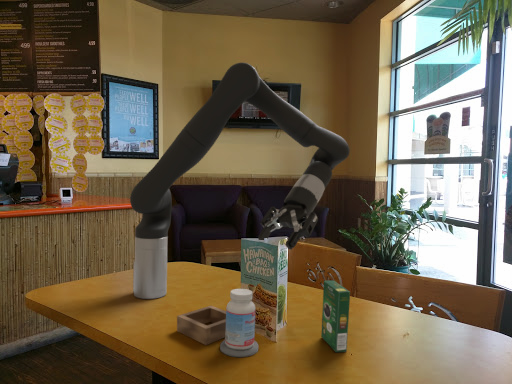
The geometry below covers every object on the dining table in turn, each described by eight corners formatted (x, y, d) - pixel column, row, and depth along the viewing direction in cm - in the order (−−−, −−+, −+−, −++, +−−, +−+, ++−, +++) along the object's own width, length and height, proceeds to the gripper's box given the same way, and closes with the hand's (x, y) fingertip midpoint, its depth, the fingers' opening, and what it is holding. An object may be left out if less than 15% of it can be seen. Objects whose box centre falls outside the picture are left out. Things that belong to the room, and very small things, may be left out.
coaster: (212, 347, 81) (212, 345, 81) (239, 336, 86) (239, 334, 86) (239, 361, 75) (239, 358, 75) (266, 348, 81) (266, 345, 81)
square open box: (176, 330, 89) (177, 315, 88) (210, 319, 96) (211, 305, 96) (205, 345, 82) (206, 328, 82) (239, 331, 89) (240, 316, 89)
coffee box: (348, 352, 80) (351, 290, 80) (335, 353, 80) (338, 290, 79) (332, 336, 88) (334, 279, 88) (320, 337, 87) (322, 280, 87)
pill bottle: (250, 352, 78) (253, 297, 77) (221, 349, 79) (223, 294, 78) (256, 340, 84) (258, 288, 83) (229, 337, 85) (231, 286, 84)
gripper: (277, 183, 103) (245, 229, 95) (323, 187, 93) (291, 238, 85) (288, 203, 107) (258, 248, 99) (333, 208, 97) (304, 259, 89)
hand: (273, 244), depth 92 cm, fingers open, 8 cm apart
